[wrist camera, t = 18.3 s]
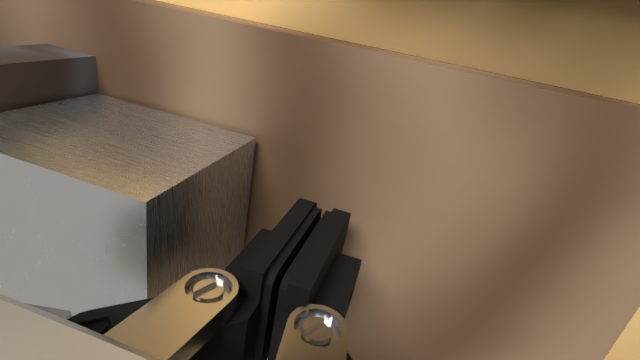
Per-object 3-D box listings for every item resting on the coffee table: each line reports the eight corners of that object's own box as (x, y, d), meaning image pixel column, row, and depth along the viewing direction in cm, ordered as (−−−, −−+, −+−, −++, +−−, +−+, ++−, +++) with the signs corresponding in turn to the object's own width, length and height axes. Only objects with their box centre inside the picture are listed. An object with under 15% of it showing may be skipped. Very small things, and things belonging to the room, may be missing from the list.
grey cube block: (105, 230, 16) (-30, 311, 11) (97, 93, 13) (-78, 127, 9) (239, 278, 14) (148, 391, 10) (255, 137, 12) (146, 202, 8)
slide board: (49, 236, 20) (-68, 299, 15) (14, -30, 15) (-176, -54, 10) (529, 418, 15) (564, 584, 11) (714, 120, 10) (926, 196, 6)
